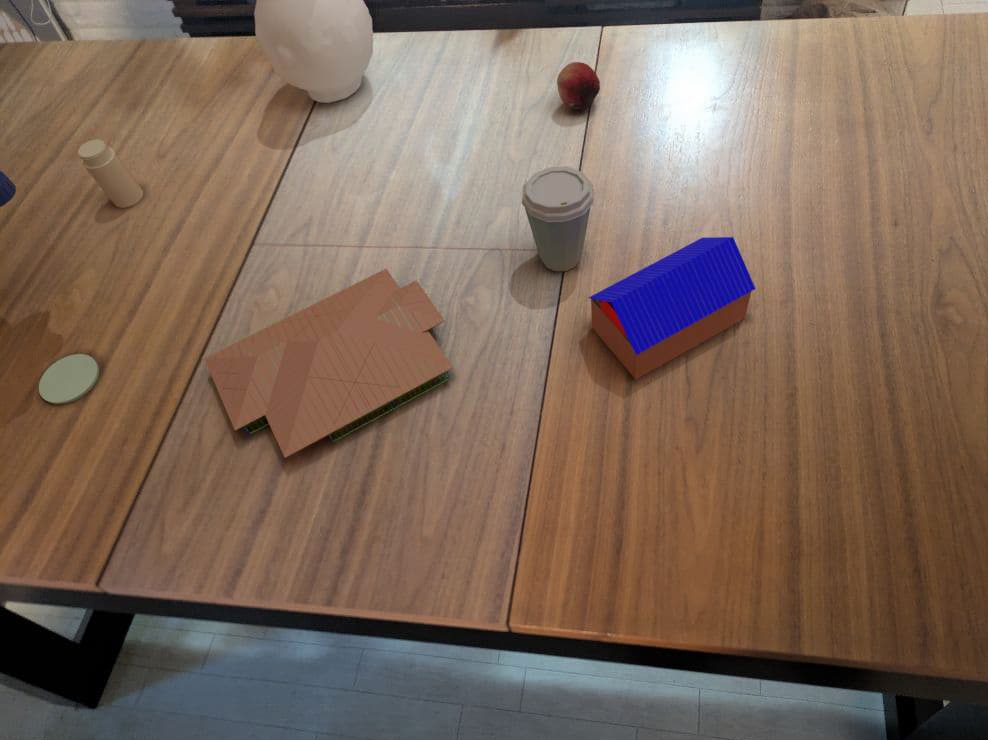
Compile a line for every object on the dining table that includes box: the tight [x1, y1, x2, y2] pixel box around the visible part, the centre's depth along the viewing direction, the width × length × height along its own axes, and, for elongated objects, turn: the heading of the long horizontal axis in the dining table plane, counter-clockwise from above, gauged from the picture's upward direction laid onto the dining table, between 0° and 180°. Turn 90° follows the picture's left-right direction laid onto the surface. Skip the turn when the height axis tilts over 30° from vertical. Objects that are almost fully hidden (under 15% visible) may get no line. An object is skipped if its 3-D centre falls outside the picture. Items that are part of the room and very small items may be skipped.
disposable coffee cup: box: [521, 166, 595, 272], centre depth 107 cm, size 11×11×15 cm
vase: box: [253, 0, 374, 104], centre depth 130 cm, size 19×21×30 cm
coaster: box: [38, 353, 100, 405], centre depth 109 cm, size 9×9×1 cm
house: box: [588, 236, 756, 380], centre depth 100 cm, size 12×20×12 cm, turn 121°
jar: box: [77, 138, 144, 209], centre depth 126 cm, size 6×6×11 cm
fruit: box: [556, 61, 601, 111], centre depth 129 cm, size 8×8×8 cm
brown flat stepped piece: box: [204, 268, 454, 459], centre depth 102 cm, size 23×33×8 cm
